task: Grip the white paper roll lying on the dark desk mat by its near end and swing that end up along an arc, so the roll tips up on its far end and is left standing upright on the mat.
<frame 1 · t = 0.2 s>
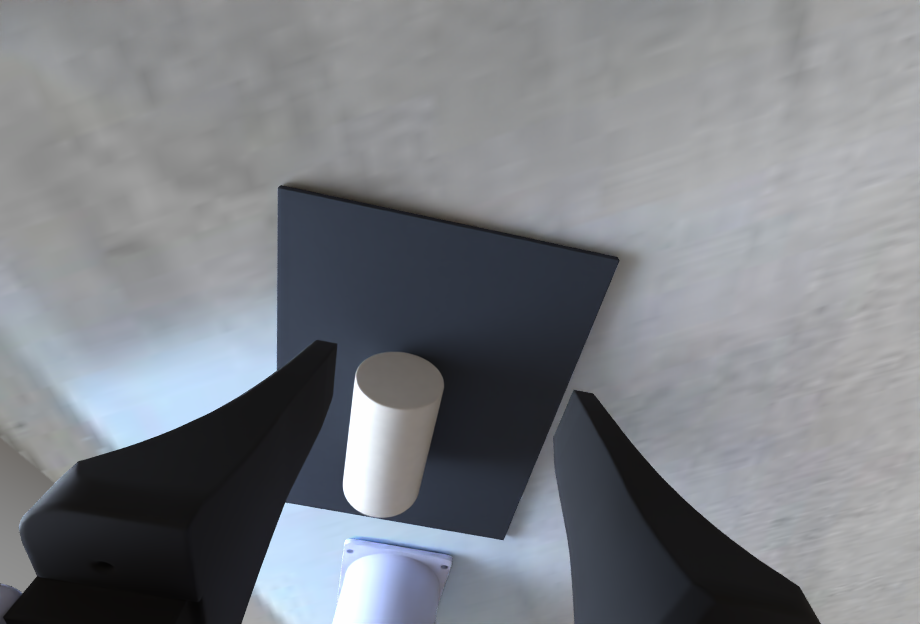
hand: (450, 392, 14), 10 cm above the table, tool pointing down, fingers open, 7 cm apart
paper roll: (390, 436, 25), point 3 cm above the table, hinge at 0.0°
desk mat: (416, 398, 27), on the table
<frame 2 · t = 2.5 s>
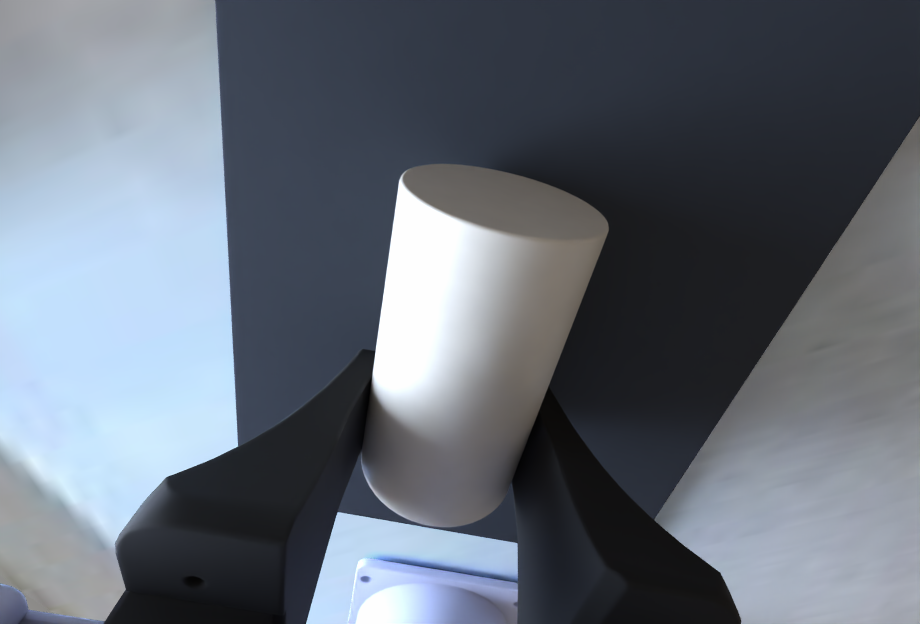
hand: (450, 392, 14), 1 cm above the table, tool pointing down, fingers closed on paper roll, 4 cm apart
paper roll: (465, 351, 12), point 3 cm above the table, hinge at 0.0°, touching gripper
desk mat: (505, 291, 14), on the table
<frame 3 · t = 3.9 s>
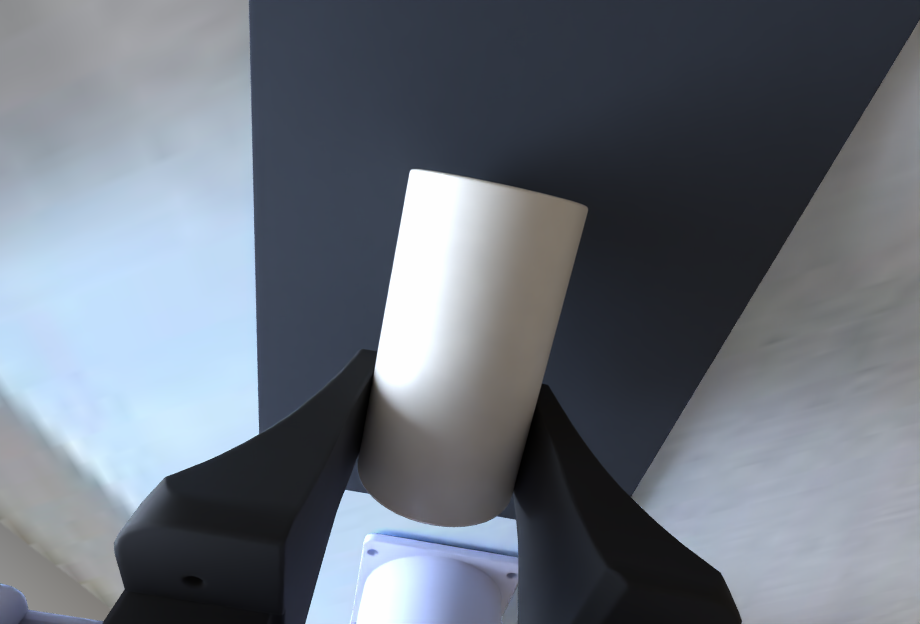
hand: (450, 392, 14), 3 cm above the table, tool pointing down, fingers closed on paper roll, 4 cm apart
paper roll: (464, 343, 12), point 4 cm above the table, hinge at 17.6°, touching gripper
desk mat: (496, 292, 16), on the table
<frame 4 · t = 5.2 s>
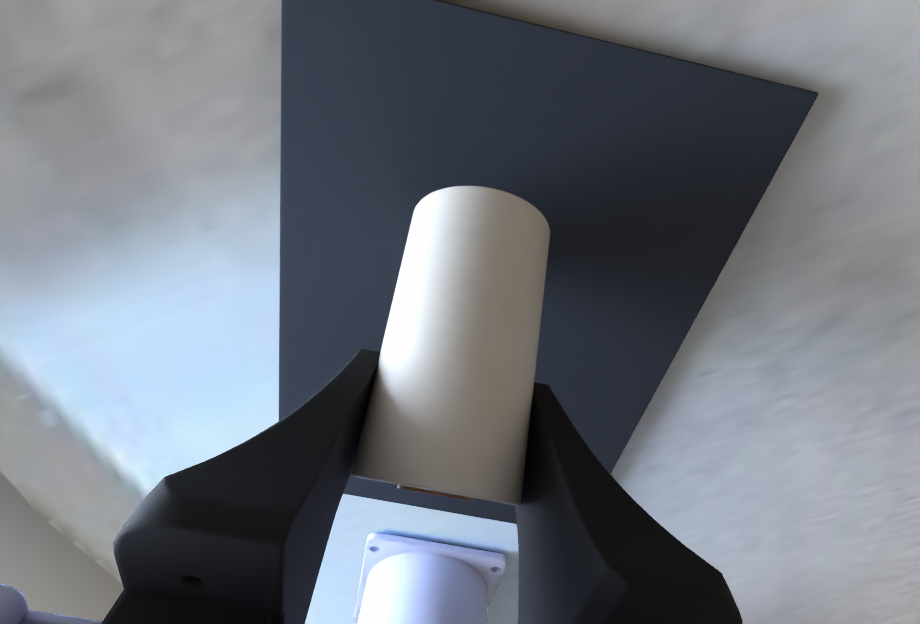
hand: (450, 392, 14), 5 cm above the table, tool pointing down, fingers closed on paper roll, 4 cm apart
paper roll: (460, 346, 14), point 5 cm above the table, hinge at 51.6°, touching gripper
desk mat: (476, 334, 19), on the table
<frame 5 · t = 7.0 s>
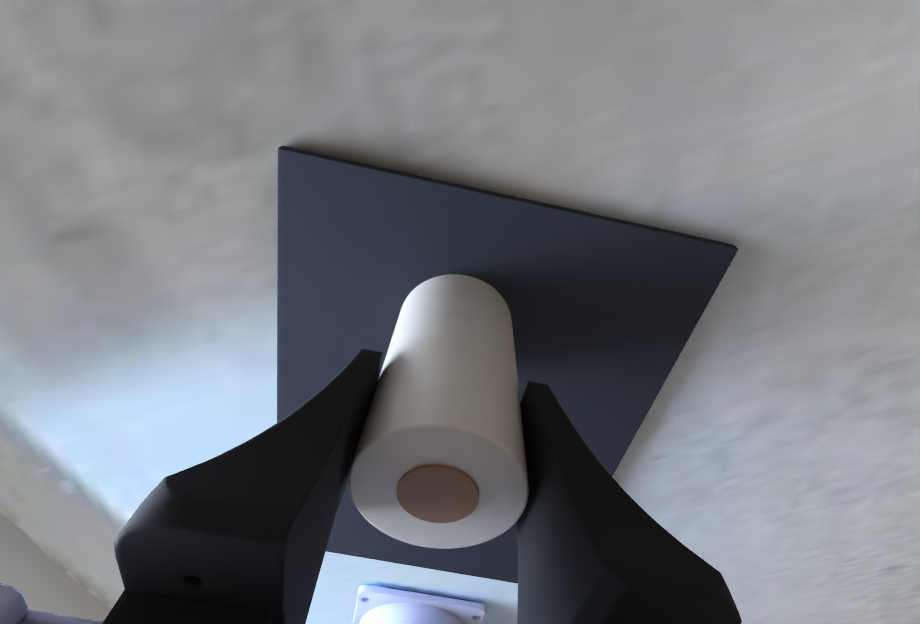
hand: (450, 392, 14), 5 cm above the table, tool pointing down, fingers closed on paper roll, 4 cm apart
paper roll: (448, 390, 15), point 4 cm above the table, hinge at 91.3°, touching desk mat, gripper
desk mat: (453, 425, 22), on the table
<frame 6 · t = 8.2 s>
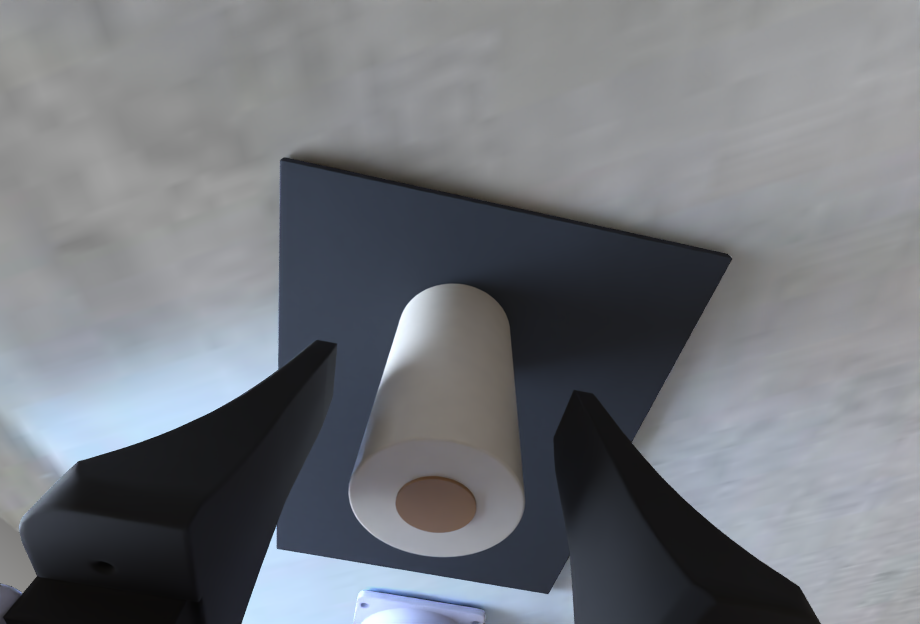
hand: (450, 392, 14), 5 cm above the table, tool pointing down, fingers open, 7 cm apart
paper roll: (447, 399, 15), point 5 cm above the table, hinge at 90.5°
desk mat: (452, 431, 22), on the table
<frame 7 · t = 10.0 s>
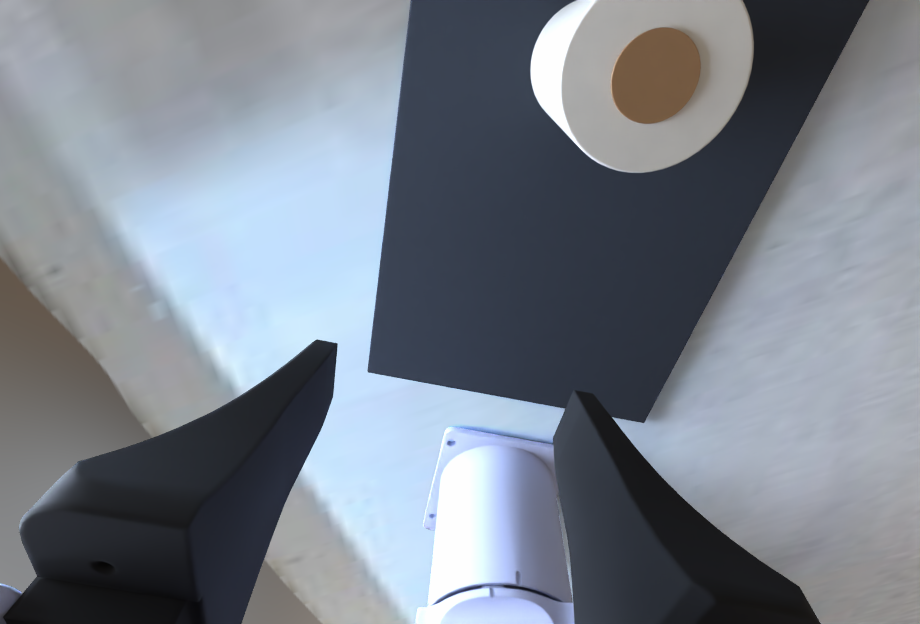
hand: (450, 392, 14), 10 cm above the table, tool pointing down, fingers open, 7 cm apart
paper roll: (613, 70, 14), point 5 cm above the table, hinge at 90.5°
desk mat: (566, 209, 21), on the table
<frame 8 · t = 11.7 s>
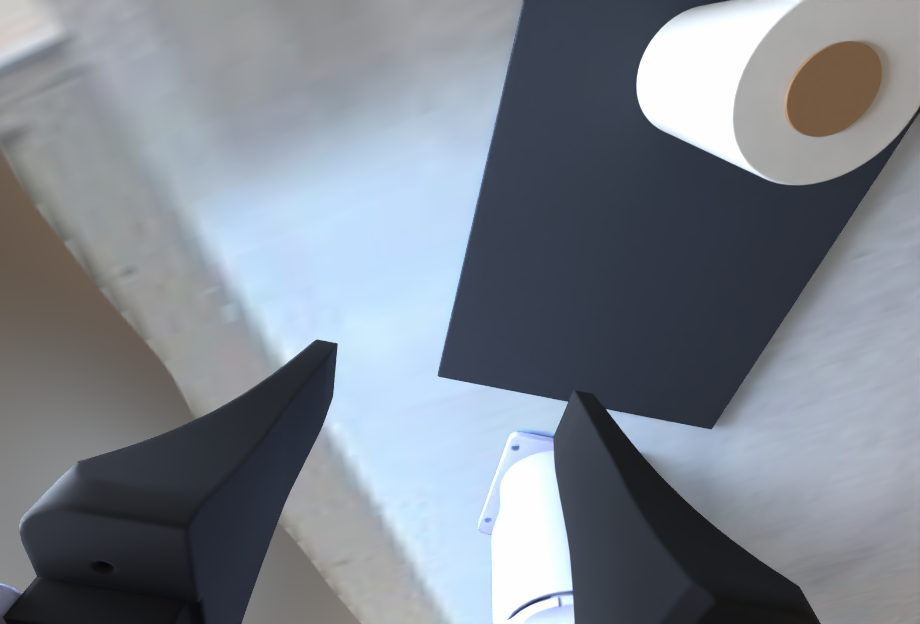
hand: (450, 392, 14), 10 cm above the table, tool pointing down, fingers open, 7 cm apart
paper roll: (747, 80, 14), point 5 cm above the table, hinge at 90.5°
desk mat: (655, 216, 21), on the table
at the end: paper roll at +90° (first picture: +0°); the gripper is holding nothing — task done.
